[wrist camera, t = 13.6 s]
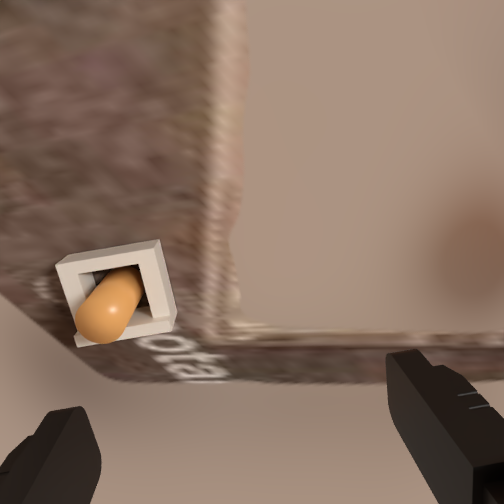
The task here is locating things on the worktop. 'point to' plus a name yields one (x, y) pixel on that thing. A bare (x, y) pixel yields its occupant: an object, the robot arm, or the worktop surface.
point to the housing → (144, 253)
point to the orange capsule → (110, 305)
